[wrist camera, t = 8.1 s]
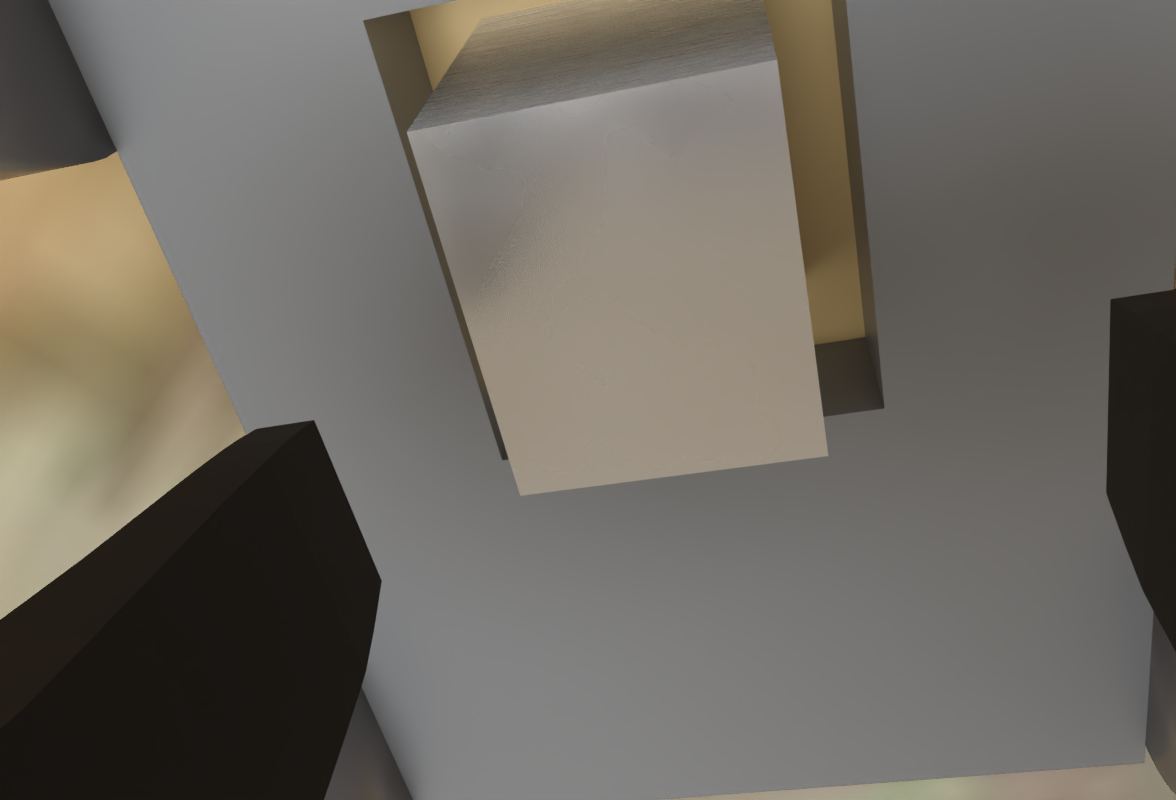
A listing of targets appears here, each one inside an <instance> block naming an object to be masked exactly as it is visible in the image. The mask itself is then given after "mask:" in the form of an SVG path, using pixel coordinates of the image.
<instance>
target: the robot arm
mask: <svg viewBox="0 0 1176 800" xmlns="http://www.w3.org/2000/svg"><path fill="white" fill-rule="evenodd" d="M1106 494H1107V497H1108V500H1109V503H1110V505H1111V508H1112V511H1113V514H1114V516H1115V519H1116V522H1117V525H1118V527H1119V530H1120V533H1121V536H1122V538H1123V541H1124V544H1125V547H1126V549H1127V552H1128V554H1129V557H1130V559H1131V562H1132V565H1133V567H1134V570H1135V572H1136V575H1137V577H1138V580H1139V582H1140V585H1141V588H1142V590H1143V592H1144V594H1145V596H1146V598H1147V600H1148V602H1149V603H1150V605H1151V607H1152V609H1153V611H1154V613H1155V615H1156V617H1157V619H1158V620H1159V622H1160V624H1161V626H1162V628H1163V630H1164V631H1165V633H1166V635H1167V637H1168V639H1169V641H1170V642H1171V644H1172V646H1173V648H1174V650H1175V652H1176V289H1174V290H1168V291H1161V292H1154V293H1148V294H1141V295H1135V296H1128V297H1121V298H1115V299H1111V301H1110V345H1109V389H1108V434H1107V478H1106ZM381 583H382V580H381V578H380V575H379V573H378V571H377V568H376V566H375V564H374V561H373V559H372V556H371V554H370V552H369V549H368V547H367V545H366V542H365V540H364V537H363V535H362V533H361V530H360V528H359V525H358V523H357V521H356V518H355V516H354V514H353V511H352V509H351V506H350V504H349V502H348V499H347V497H346V495H345V492H344V490H343V487H342V485H341V483H340V480H339V478H338V476H337V473H336V471H335V468H334V466H333V464H332V461H331V459H330V456H329V454H328V452H327V449H326V447H325V445H324V442H323V440H322V437H321V435H320V433H319V430H318V428H317V426H316V423H315V421H314V420H311V421H304V422H298V423H291V424H284V425H278V426H271V427H265V428H258V429H255V430H253V431H252V432H250V433H248V434H247V435H245V436H243V437H242V438H240V439H239V440H237V441H236V442H234V443H233V444H231V445H230V446H228V447H227V448H225V449H224V450H222V451H221V452H220V453H218V454H217V455H216V456H214V457H213V458H211V459H210V460H209V461H207V462H206V463H205V464H203V465H202V466H201V467H199V468H198V469H197V470H195V471H194V472H193V473H192V474H190V475H189V476H188V477H186V478H185V479H184V480H183V481H181V482H180V483H179V484H177V485H176V486H175V487H174V488H172V489H171V490H170V491H168V492H167V493H166V494H165V495H163V496H162V497H161V498H160V499H158V500H157V501H156V502H155V503H153V504H152V505H151V506H149V507H148V508H147V509H146V510H144V511H143V512H142V513H141V514H139V515H138V516H137V517H135V518H134V519H133V520H132V521H130V522H129V523H128V524H127V525H125V526H124V527H123V528H122V529H120V530H119V531H118V532H116V533H115V534H114V535H113V536H111V537H110V538H109V539H108V540H106V541H105V542H104V543H102V544H101V545H100V546H99V547H97V548H96V549H95V550H94V551H92V552H91V553H90V554H88V555H87V556H86V557H85V558H83V559H82V560H81V561H79V562H78V563H77V564H75V565H74V566H73V567H71V568H70V569H68V570H67V571H66V572H64V573H63V574H62V575H60V576H59V577H58V578H56V579H55V580H54V581H52V582H51V583H50V584H48V585H47V586H45V587H44V588H43V589H41V590H40V591H39V592H37V593H36V594H35V595H33V596H32V597H31V598H29V599H28V600H27V601H25V602H24V603H23V604H21V605H20V606H18V607H17V608H16V609H14V610H13V611H12V612H10V613H9V614H8V615H6V616H5V617H4V618H2V619H1V620H0V800H324V799H325V796H326V793H327V790H328V787H329V784H330V781H331V778H332V775H333V772H334V769H335V766H336V763H337V760H338V757H339V754H340V751H341V748H342V745H343V742H344V739H345V736H346V733H347V730H348V727H349V724H350V721H351V718H352V714H353V711H354V708H355V705H356V702H357V699H358V696H359V693H360V689H361V686H362V683H363V680H364V677H365V673H366V669H367V664H368V659H369V654H370V648H371V643H372V638H373V633H374V627H375V621H376V615H377V608H378V602H379V596H380V589H381Z"/></svg>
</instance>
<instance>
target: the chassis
mask: <svg viewBox="0 0 1176 800" xmlns="http://www.w3.org/2000/svg"><path fill="white" fill-rule="evenodd" d="M563 1H568V0H0V180H4V179H9V178H14V177H19V176H24V175H29V174H34V173H39V172H44V171H49V170H54V169H59V168H64V167H69V166H74V165H79V164H84V163H89V162H94V161H97V160H100V159H104V158H106V157H108V156H110V155H111V154H113V153H115V152H116V151H117V152H118V154H119V157H120V159H121V161H122V163H123V165H124V168H125V170H126V172H127V174H128V176H129V178H130V181H131V183H132V185H133V187H134V189H135V192H136V194H137V196H138V198H139V200H140V203H141V205H142V207H143V209H144V211H145V214H146V216H147V218H148V220H149V222H150V225H151V227H152V229H153V231H154V233H155V235H156V238H157V240H158V242H159V244H160V246H161V249H162V251H163V253H164V255H165V257H166V260H167V262H168V264H169V266H170V268H171V271H172V273H173V275H174V277H175V279H176V281H177V284H178V286H179V288H180V290H181V292H182V295H183V297H184V299H185V301H186V303H187V306H188V308H189V310H190V312H191V314H192V317H193V319H194V321H195V323H196V325H197V327H198V330H199V332H200V334H201V336H202V338H203V341H204V343H205V345H206V347H207V349H208V352H209V354H210V356H211V358H212V360H213V363H214V365H215V367H216V369H217V371H218V374H219V376H220V378H221V380H222V382H223V384H224V387H225V389H226V391H227V393H228V395H229V398H230V400H231V402H232V404H233V406H234V409H235V411H236V413H237V415H238V417H239V420H240V422H241V424H242V426H243V428H244V430H245V433H246V435H247V434H248V433H250V432H252V431H253V430H255V429H258V428H265V427H271V426H278V425H284V424H291V423H298V422H304V421H311V420H314V421H315V423H316V426H317V428H318V430H319V433H320V435H321V437H322V440H323V442H324V445H325V447H326V449H327V452H328V454H329V456H330V459H331V461H332V464H333V466H334V468H335V471H336V473H337V476H338V478H339V480H340V483H341V485H342V487H343V490H344V492H345V495H346V497H347V499H348V502H349V504H350V506H351V509H352V511H353V514H354V516H355V518H356V521H357V523H358V525H359V528H360V530H361V533H362V535H363V537H364V540H365V542H366V545H367V547H368V549H369V552H370V554H371V556H372V559H373V561H374V564H375V566H376V568H377V571H378V573H379V575H380V578H381V580H382V583H381V589H380V596H379V602H378V608H377V615H376V621H375V627H374V633H373V638H372V643H371V648H370V654H369V659H368V664H367V669H366V673H365V677H364V680H363V683H362V686H361V689H360V693H359V696H358V699H357V702H356V705H355V708H354V711H353V714H352V718H351V721H350V724H349V727H348V730H347V733H346V736H345V739H344V742H343V745H342V748H341V751H340V754H339V757H338V760H337V763H336V766H335V769H334V772H333V775H332V778H331V781H330V784H329V787H328V790H327V793H326V796H325V799H324V800H660V799H673V798H687V797H700V796H713V795H726V794H740V793H753V792H766V791H779V790H793V789H806V788H819V787H833V786H846V785H859V784H872V783H886V782H899V781H912V780H925V779H939V778H952V777H965V776H978V775H992V774H1005V773H1018V772H1032V771H1045V770H1058V769H1071V768H1085V767H1098V766H1111V765H1124V764H1138V763H1144V757H1145V745H1146V747H1147V749H1148V752H1149V754H1150V756H1151V758H1152V760H1153V762H1154V764H1155V766H1156V768H1157V769H1158V771H1159V773H1160V774H1161V776H1162V778H1163V779H1164V781H1165V782H1166V784H1167V785H1168V786H1169V787H1170V789H1171V790H1172V791H1173V792H1174V793H1175V794H1176V652H1175V650H1174V648H1173V646H1172V644H1171V642H1170V641H1169V639H1168V637H1167V635H1166V633H1165V631H1164V630H1163V628H1162V626H1161V624H1160V622H1159V620H1158V619H1157V617H1156V615H1155V613H1154V611H1153V609H1152V607H1151V605H1150V603H1149V602H1148V600H1147V598H1146V596H1145V594H1144V592H1143V590H1142V588H1141V585H1140V582H1139V580H1138V577H1137V575H1136V572H1135V570H1134V567H1133V565H1132V562H1131V559H1130V557H1129V554H1128V552H1127V549H1126V547H1125V544H1124V541H1123V538H1122V536H1121V533H1120V530H1119V527H1118V525H1117V522H1116V519H1115V516H1114V514H1113V511H1112V508H1111V505H1110V503H1109V500H1108V497H1107V494H1106V478H1107V434H1108V389H1109V345H1110V301H1111V299H1115V298H1121V297H1128V296H1135V295H1141V294H1148V293H1154V292H1161V291H1168V290H1174V277H1175V261H1176V0H764V5H765V9H766V13H767V18H768V22H769V26H770V31H771V35H772V39H773V44H774V48H775V52H776V57H777V62H778V70H779V77H780V85H781V93H782V101H783V108H784V116H785V124H786V132H787V139H788V147H789V155H790V163H791V170H792V178H793V186H794V193H795V201H796V209H797V217H798V224H799V232H800V240H801V248H802V255H803V263H804V271H805V279H806V286H807V294H808V302H809V310H810V317H811V325H812V333H813V341H814V348H815V356H816V364H817V372H818V379H819V387H820V395H821V403H822V410H823V418H824V426H825V434H826V441H827V449H828V456H825V457H817V458H809V459H801V460H794V461H786V462H778V463H770V464H763V465H755V466H747V467H739V468H732V469H724V470H716V471H709V472H701V473H693V474H685V475H678V476H670V477H662V478H654V479H647V480H639V481H631V482H623V483H616V484H608V485H600V486H592V487H585V488H577V489H569V490H561V491H554V492H546V493H538V494H530V495H523V496H520V493H519V490H518V487H517V484H516V480H515V477H514V474H513V471H512V468H511V464H510V461H509V458H508V455H507V452H506V448H505V445H504V442H503V439H502V436H501V432H500V429H499V426H498V423H497V420H496V416H495V413H494V410H493V407H492V404H491V400H490V397H489V394H488V391H487V388H486V384H485V381H484V378H483V375H482V372H481V368H480V365H479V362H478V359H477V356H476V352H475V349H474V346H473V343H472V340H471V336H470V333H469V330H468V327H467V324H466V320H465V317H464V314H463V311H462V308H461V304H460V301H459V298H458V295H457V292H456V288H455V285H454V282H453V279H452V276H451V272H450V269H449V266H448V263H447V260H446V256H445V253H444V250H443V247H442V244H441V240H440V237H439V234H438V231H437V228H436V224H435V221H434V218H433V215H432V212H431V208H430V205H429V202H428V199H427V196H426V192H425V189H424V186H423V183H422V180H421V176H420V173H419V170H418V167H417V164H416V160H415V157H414V154H413V151H412V148H411V144H410V141H409V138H408V135H407V131H408V129H409V128H410V126H411V125H412V123H413V122H414V120H415V119H416V117H417V116H418V114H419V113H420V111H421V110H422V108H423V106H424V105H425V103H426V102H427V100H428V99H429V97H430V96H431V94H432V93H433V91H434V90H435V88H436V87H437V85H438V84H439V82H440V81H441V79H442V78H443V76H444V75H445V73H446V72H447V70H448V68H449V67H450V65H451V64H452V62H453V61H454V59H455V58H456V56H457V55H458V53H459V52H460V50H461V49H462V47H463V46H464V44H465V43H466V41H467V40H468V38H469V37H470V35H471V34H472V32H473V30H474V29H475V27H476V26H477V24H478V23H479V21H480V20H481V19H483V18H488V17H492V16H497V15H502V14H507V13H511V12H516V11H521V10H525V9H530V8H535V7H540V6H544V5H549V4H554V3H558V2H563Z"/></svg>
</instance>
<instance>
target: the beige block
mask: <svg viewBox="0 0 1176 800" xmlns="http://www.w3.org/2000/svg"><path fill="white" fill-rule="evenodd" d="M407 135H408V138H409V141H410V144H411V148H412V151H413V154H414V157H415V160H416V164H417V167H418V170H419V173H420V176H421V180H422V183H423V186H424V189H425V192H426V196H427V199H428V202H429V205H430V208H431V212H432V215H433V218H434V221H435V224H436V228H437V231H438V234H439V237H440V240H441V244H442V247H443V250H444V253H445V256H446V260H447V263H448V266H449V269H450V272H451V276H452V279H453V282H454V285H455V288H456V292H457V295H458V298H459V301H460V304H461V308H462V311H463V314H464V317H465V320H466V324H467V327H468V330H469V333H470V336H471V340H472V343H473V346H474V349H475V352H476V356H477V359H478V362H479V365H480V368H481V372H482V375H483V378H484V381H485V384H486V388H487V391H488V394H489V397H490V400H491V404H492V407H493V410H494V413H495V416H496V420H497V423H498V426H499V429H500V432H501V436H502V439H503V442H504V445H505V448H506V452H507V455H508V458H509V461H510V464H511V468H512V471H513V474H514V477H515V480H516V484H517V487H518V490H519V493H520V496H523V495H530V494H538V493H546V492H554V491H561V490H569V489H577V488H585V487H592V486H600V485H608V484H616V483H623V482H631V481H639V480H647V479H654V478H662V477H670V476H678V475H685V474H693V473H701V472H709V471H716V470H724V469H732V468H739V467H747V466H755V465H763V464H770V463H778V462H786V461H794V460H801V459H809V458H817V457H825V456H828V449H827V441H826V434H825V426H824V418H823V410H822V403H821V395H820V387H819V379H818V372H817V364H816V356H815V348H814V341H813V333H812V325H811V317H810V310H809V302H808V294H807V286H806V279H805V271H804V263H803V255H802V248H801V240H800V232H799V224H798V217H797V209H796V201H795V193H794V186H793V178H792V170H791V163H790V155H789V147H788V139H787V132H786V124H785V116H784V108H783V101H782V93H781V85H780V77H779V70H778V62H777V57H776V52H775V48H774V44H773V39H772V35H771V31H770V26H769V22H768V18H767V13H766V9H765V5H764V0H568V1H563V2H558V3H554V4H549V5H544V6H540V7H535V8H530V9H525V10H521V11H516V12H511V13H507V14H502V15H497V16H492V17H488V18H483V19H481V20H480V21H479V23H478V24H477V26H476V27H475V29H474V30H473V32H472V34H471V35H470V37H469V38H468V40H467V41H466V43H465V44H464V46H463V47H462V49H461V50H460V52H459V53H458V55H457V56H456V58H455V59H454V61H453V62H452V64H451V65H450V67H449V68H448V70H447V72H446V73H445V75H444V76H443V78H442V79H441V81H440V82H439V84H438V85H437V87H436V88H435V90H434V91H433V93H432V94H431V96H430V97H429V99H428V100H427V102H426V103H425V105H424V106H423V108H422V110H421V111H420V113H419V114H418V116H417V117H416V119H415V120H414V122H413V123H412V125H411V126H410V128H409V129H408V131H407Z"/></svg>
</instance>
